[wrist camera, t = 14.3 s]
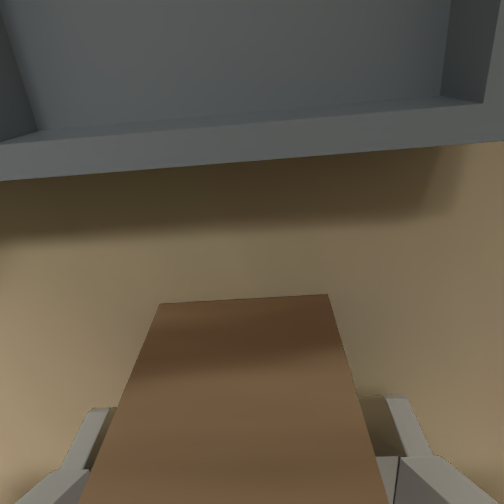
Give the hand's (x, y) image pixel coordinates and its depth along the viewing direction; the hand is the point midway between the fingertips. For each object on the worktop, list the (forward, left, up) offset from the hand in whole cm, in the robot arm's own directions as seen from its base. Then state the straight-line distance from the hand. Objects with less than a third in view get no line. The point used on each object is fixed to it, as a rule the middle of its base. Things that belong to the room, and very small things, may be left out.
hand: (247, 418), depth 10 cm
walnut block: (0, 0, -2) cm, 2 cm away
